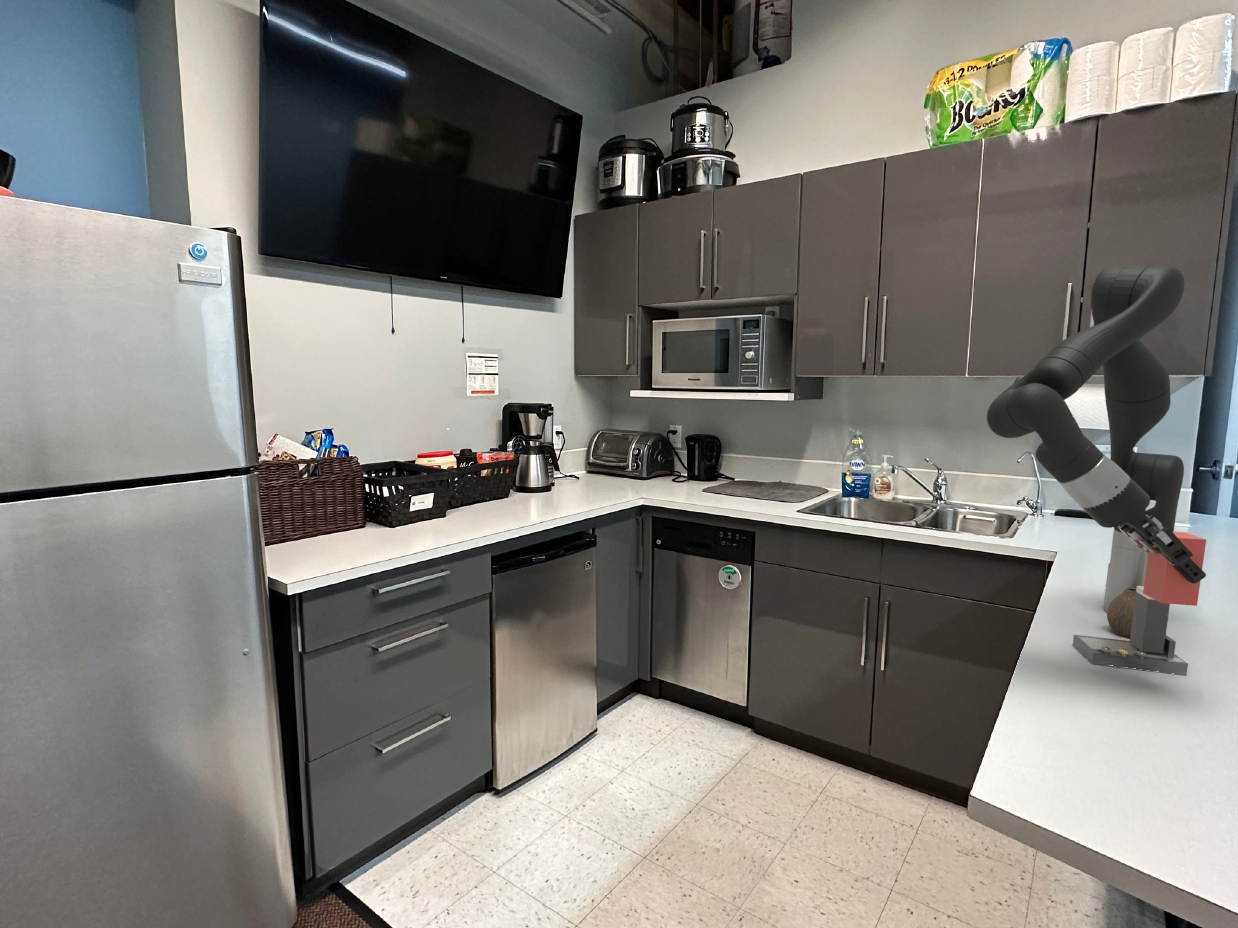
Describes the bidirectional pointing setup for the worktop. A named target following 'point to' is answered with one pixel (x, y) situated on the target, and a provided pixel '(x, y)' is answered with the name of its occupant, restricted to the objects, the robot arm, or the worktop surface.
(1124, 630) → the vase
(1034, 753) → the worktop surface
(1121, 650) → the ball-studded metal plate
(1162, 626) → the block
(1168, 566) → the block
